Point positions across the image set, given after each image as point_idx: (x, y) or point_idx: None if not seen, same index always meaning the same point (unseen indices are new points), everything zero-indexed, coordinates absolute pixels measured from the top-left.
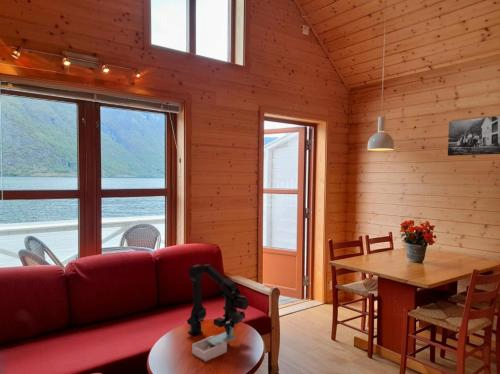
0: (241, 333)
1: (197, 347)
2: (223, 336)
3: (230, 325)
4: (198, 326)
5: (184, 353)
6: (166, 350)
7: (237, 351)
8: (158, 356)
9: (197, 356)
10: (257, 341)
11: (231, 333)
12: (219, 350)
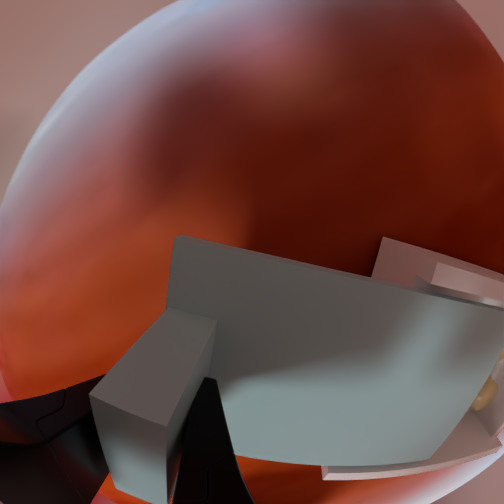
0: (32, 312)
1: (466, 429)
2: (278, 411)
3: (91, 466)
4: None
5: None
6: (445, 482)
7: (301, 143)
8: (488, 460)
9: (500, 368)
10: (45, 126)
11: (196, 348)
12: (485, 271)
